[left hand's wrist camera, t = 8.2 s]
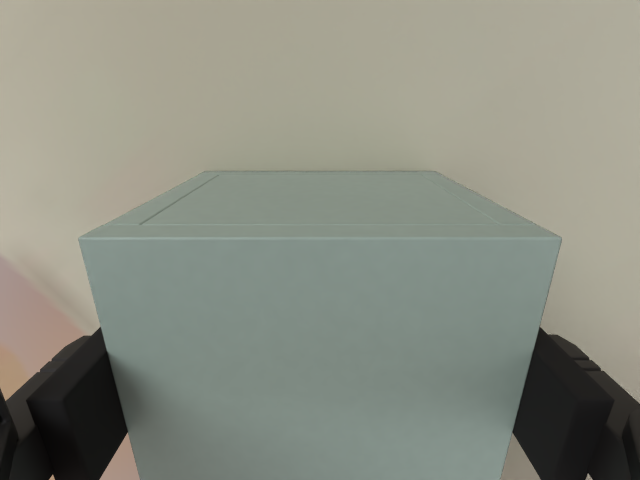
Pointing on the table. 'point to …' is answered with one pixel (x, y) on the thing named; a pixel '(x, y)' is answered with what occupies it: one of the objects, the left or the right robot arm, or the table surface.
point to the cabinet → (320, 325)
